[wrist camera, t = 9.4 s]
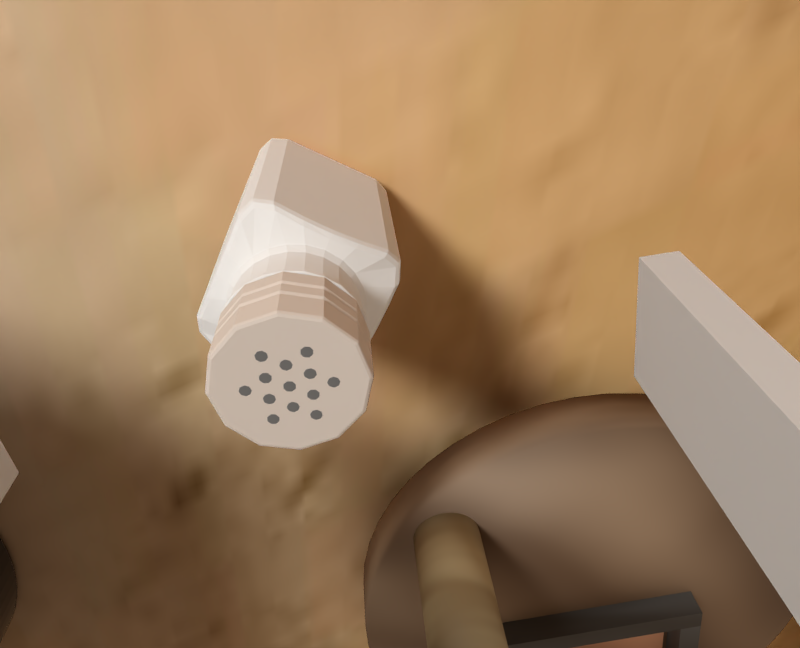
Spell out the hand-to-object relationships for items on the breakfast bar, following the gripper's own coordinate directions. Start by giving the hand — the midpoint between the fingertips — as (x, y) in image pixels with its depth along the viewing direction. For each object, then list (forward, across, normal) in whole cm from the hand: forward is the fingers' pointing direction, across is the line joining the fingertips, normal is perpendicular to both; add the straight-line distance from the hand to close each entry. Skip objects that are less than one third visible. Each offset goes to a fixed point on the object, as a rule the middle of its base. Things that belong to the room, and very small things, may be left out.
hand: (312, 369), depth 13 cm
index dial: (+8, +8, -17) cm, 20 cm away
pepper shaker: (+9, 0, 0) cm, 9 cm away
